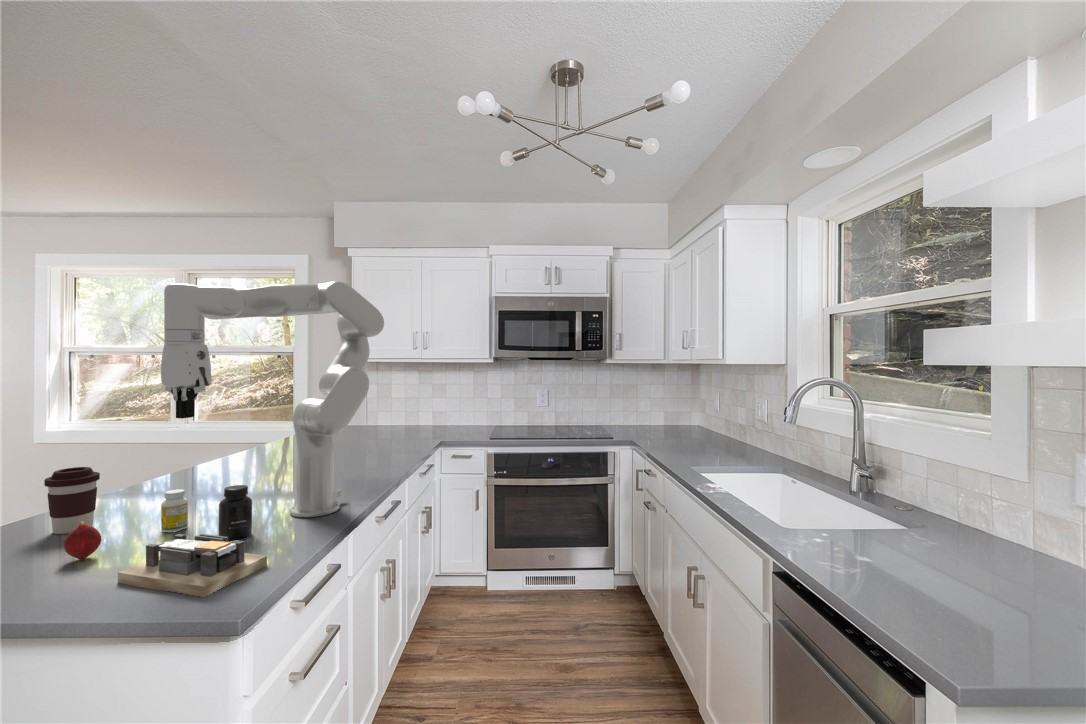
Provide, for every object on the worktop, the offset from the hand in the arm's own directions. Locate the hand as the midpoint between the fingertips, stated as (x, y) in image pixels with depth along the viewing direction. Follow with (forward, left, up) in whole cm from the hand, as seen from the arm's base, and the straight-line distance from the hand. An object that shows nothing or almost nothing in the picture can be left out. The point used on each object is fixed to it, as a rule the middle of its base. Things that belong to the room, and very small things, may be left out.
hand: (185, 417), depth 114 cm
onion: (+13, -12, -29) cm, 34 cm away
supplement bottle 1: (-6, -11, -29) cm, 32 cm away
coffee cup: (+1, -35, -29) cm, 46 cm away
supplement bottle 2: (-6, +8, -29) cm, 31 cm away
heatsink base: (+12, +17, -29) cm, 36 cm away
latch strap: (+12, +17, -24) cm, 32 cm away
